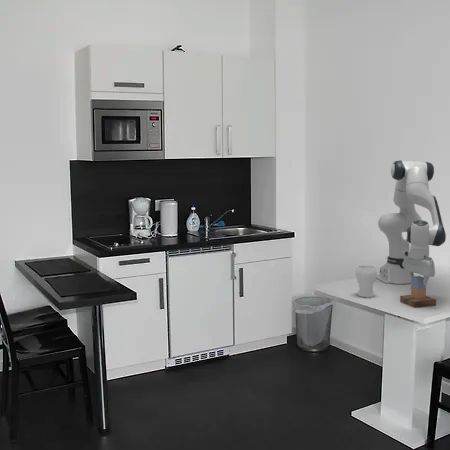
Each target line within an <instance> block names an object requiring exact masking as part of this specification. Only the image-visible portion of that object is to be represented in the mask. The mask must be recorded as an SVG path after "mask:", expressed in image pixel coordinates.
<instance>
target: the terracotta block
mask: <svg viewBox="0 0 450 450" xmlns="http://www.w3.org/2000/svg"><path fill="white" fill-rule="evenodd" d="M426 294H427V287H426V288H424V289H415V288H413V287H411V286H410V295H411V297H412V298H415V299H424V298H426V296H427V295H426Z"/></svg>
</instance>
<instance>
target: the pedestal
mask: <svg viewBox="0 0 450 450" xmlns="http://www.w3.org/2000/svg"><path fill="white" fill-rule="evenodd" d="M399 302H400V303H402V304H403V305H407V306H410V307H412V308H415V309H416V308H424V307H426V308H427V307H435V306H437V299H436V298H433V297H430V296H428V295H426V298H424V299H415V298H412V297H411V294H407V295H406V294H405V295H404V294H403V295H400V296H399Z"/></svg>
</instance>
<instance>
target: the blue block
mask: <svg viewBox="0 0 450 450" xmlns="http://www.w3.org/2000/svg"><path fill="white" fill-rule="evenodd" d="M423 280H424V276H422V275H418V276H417V275H414V277H411V283H410V288H411V287H413V288H415V289H424V288H426V289H427V285H424V284H422V281H423Z"/></svg>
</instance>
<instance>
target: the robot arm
mask: <svg viewBox="0 0 450 450" xmlns="http://www.w3.org/2000/svg"><path fill="white" fill-rule="evenodd" d="M390 174H391V177H392V179H393V180H395V182H396V183H395V187H394V191H393V192H394V193H393V199H392V200H393V202H394V204H395V206H397V207H398V208H399V212H394V213H387V214H383V215H381V216H380V217H379V219H378V223H377V224H378V228H379V230H380V231H381V232H382V233H384V235H385V236H386V238H387V241H388V254H389V255H388V256H387V257H386V259H387V260H386V263H385V264H383V265H382V266H380V267H379V274H377V277H376V279H377V280H379V281H380V282H382V283H385V284H396V285H397V284H398V285H406V284H411V277H415V274H417V275H419V276H422V277H424V280H423V281H422V284H424V285H426V286H427V285H428V281H429V279H430V278H431V277H435V275H436V268H435V267H436V266H435V261H434V260H433V258H432V257H431V256H430V246H434V247H440V246H442V245H443V244H445V242H446V239H447V233H446V231H445V228H444V224H443V221H442V220H443V219H442V216H441V212H440V208H439V207H440V206H439V202H438V200H437V197H436V196H435V195H433V194H432V193H431V191H430V189H429V182H430V181H432V180H433V177H434V175H435V167H434V165H433V163H432V162H429V161H420V160H401V159H400V160H394V161H393V163H392V165H391V168H390ZM415 205H417V206H420V207H422V208H425V209H426V210H428V211H429V213H430V215H431V220H432V224H433V225H430V224H429V222H428V221H426V220H422V217H421V215H420V214H419V213H418V212H417V210H416V207H415ZM403 233H406V239H404V238H403Z"/></svg>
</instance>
